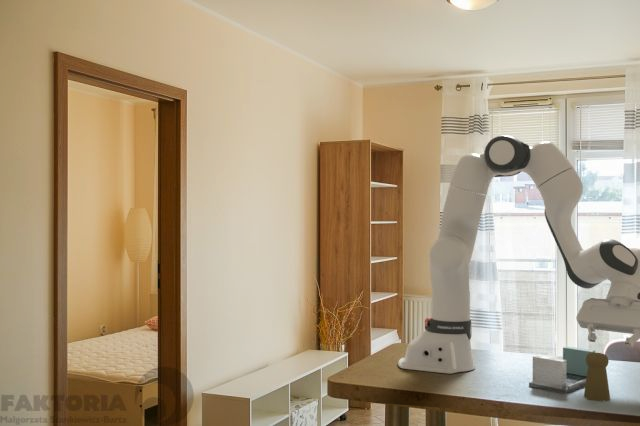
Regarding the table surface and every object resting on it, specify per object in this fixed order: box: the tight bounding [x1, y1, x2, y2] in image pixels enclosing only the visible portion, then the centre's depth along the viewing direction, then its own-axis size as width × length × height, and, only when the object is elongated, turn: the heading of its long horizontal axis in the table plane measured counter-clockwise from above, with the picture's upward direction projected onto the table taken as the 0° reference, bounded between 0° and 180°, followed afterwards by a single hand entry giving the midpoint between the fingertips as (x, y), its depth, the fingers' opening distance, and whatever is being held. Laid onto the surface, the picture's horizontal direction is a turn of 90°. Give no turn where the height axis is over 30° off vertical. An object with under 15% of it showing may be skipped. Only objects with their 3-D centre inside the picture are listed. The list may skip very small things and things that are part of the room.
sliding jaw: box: [562, 346, 596, 376], centre depth 183 cm, size 2×8×7 cm, turn 44°
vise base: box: [528, 355, 587, 395], centre depth 177 cm, size 21×10×8 cm, turn 135°
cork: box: [583, 352, 611, 402], centre depth 163 cm, size 6×6×11 cm
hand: (609, 342), depth 168 cm, fingers open, 8 cm apart
